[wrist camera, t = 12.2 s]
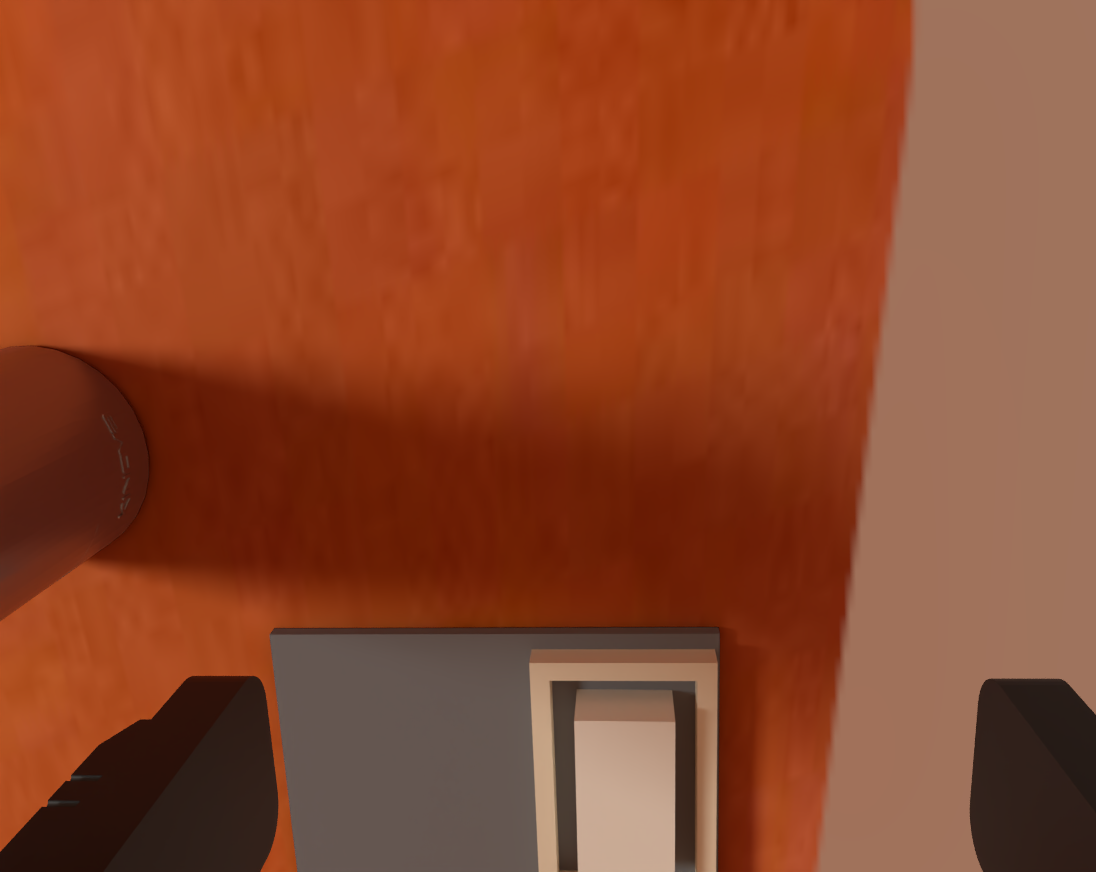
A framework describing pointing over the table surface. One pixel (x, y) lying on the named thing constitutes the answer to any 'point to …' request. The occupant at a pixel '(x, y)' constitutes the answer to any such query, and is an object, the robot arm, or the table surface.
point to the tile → (625, 780)
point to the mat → (475, 741)
